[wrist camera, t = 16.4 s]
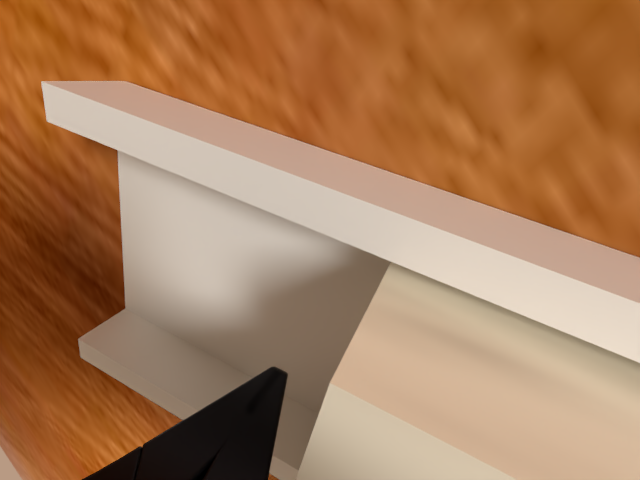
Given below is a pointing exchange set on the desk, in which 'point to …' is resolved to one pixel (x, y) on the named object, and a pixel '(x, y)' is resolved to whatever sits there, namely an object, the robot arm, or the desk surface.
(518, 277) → the bay
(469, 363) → the pale wooden block
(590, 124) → the desk surface
